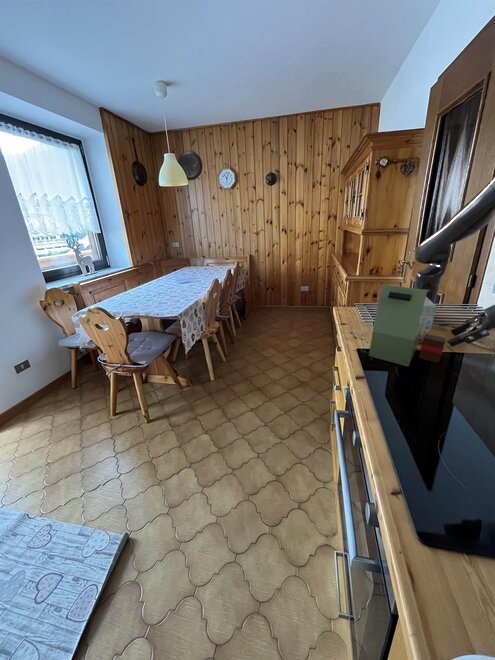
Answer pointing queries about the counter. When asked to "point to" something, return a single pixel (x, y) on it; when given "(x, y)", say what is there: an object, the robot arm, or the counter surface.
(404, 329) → the bin lid
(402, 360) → the bin
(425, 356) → the chocolate
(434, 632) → the counter surface
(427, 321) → the snack box
